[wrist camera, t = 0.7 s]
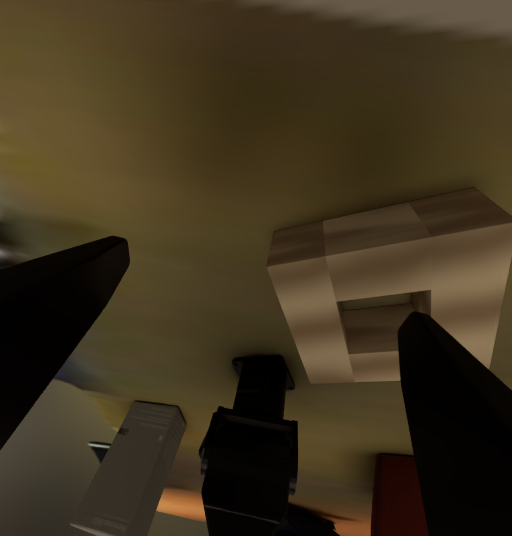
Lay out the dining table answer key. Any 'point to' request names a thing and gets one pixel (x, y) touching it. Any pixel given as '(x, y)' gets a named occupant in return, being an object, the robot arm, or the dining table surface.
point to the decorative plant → (304, 525)
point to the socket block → (392, 281)
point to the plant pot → (397, 498)
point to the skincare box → (132, 473)
